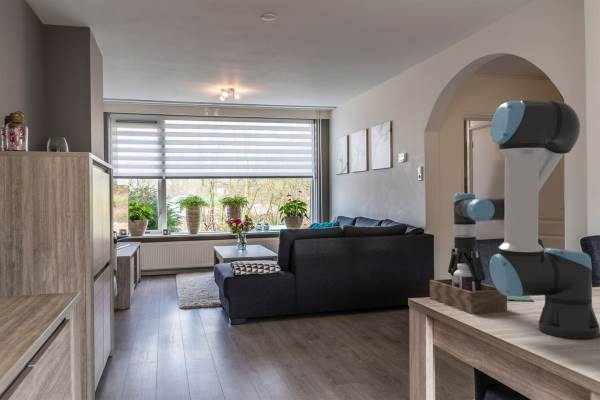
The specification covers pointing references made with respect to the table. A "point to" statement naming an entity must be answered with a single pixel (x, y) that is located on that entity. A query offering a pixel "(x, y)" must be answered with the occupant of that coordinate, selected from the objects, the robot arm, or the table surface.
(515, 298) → the mat
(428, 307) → the table surface
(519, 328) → the table surface
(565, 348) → the table surface
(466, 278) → the pill bottle
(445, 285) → the crate
